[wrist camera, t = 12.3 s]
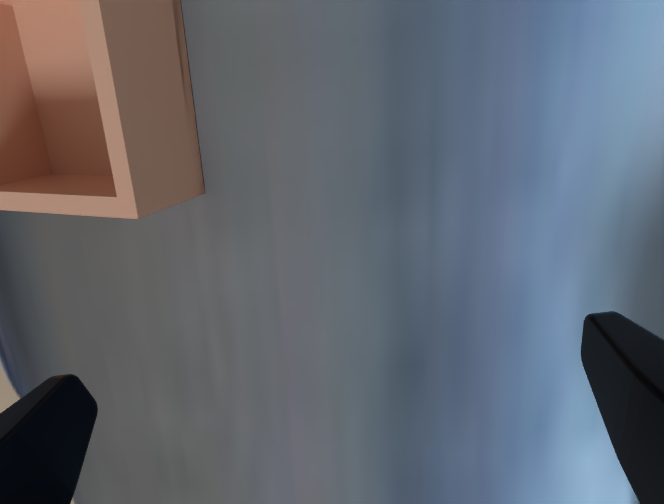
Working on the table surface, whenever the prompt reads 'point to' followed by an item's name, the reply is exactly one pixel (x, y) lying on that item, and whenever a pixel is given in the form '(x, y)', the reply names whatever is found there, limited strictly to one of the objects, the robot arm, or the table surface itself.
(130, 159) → the cup holder
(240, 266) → the table surface
